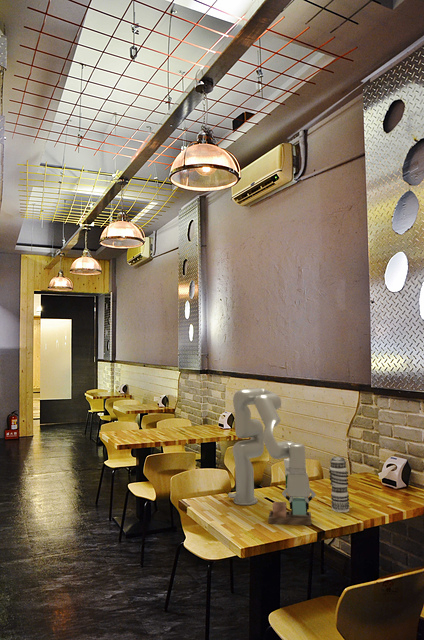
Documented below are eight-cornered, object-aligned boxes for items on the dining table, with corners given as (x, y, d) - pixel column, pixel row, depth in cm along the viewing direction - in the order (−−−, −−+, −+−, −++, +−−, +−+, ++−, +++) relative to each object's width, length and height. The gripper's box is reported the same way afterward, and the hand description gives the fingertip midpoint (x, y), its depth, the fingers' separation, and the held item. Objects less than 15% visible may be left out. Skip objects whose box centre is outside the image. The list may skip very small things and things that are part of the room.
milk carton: (305, 492, 261) (303, 456, 263) (292, 495, 257) (290, 457, 259) (296, 489, 269) (294, 453, 271) (283, 491, 265) (281, 455, 267)
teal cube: (292, 514, 213) (292, 501, 214) (293, 510, 219) (292, 497, 220) (306, 515, 212) (305, 501, 213) (306, 510, 218) (305, 497, 219)
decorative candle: (327, 509, 230) (324, 457, 233) (337, 505, 237) (334, 454, 239) (344, 513, 224) (341, 460, 226) (353, 509, 230) (350, 457, 233)
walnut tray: (268, 523, 213) (268, 506, 214) (270, 516, 223) (269, 500, 224) (311, 525, 210) (310, 508, 210) (310, 517, 219) (310, 501, 220)
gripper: (278, 472, 215) (280, 512, 214) (316, 473, 212) (318, 514, 211) (279, 468, 223) (281, 507, 221) (316, 469, 220) (318, 508, 218)
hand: (299, 510), depth 216 cm, fingers closed on teal cube, 5 cm apart
